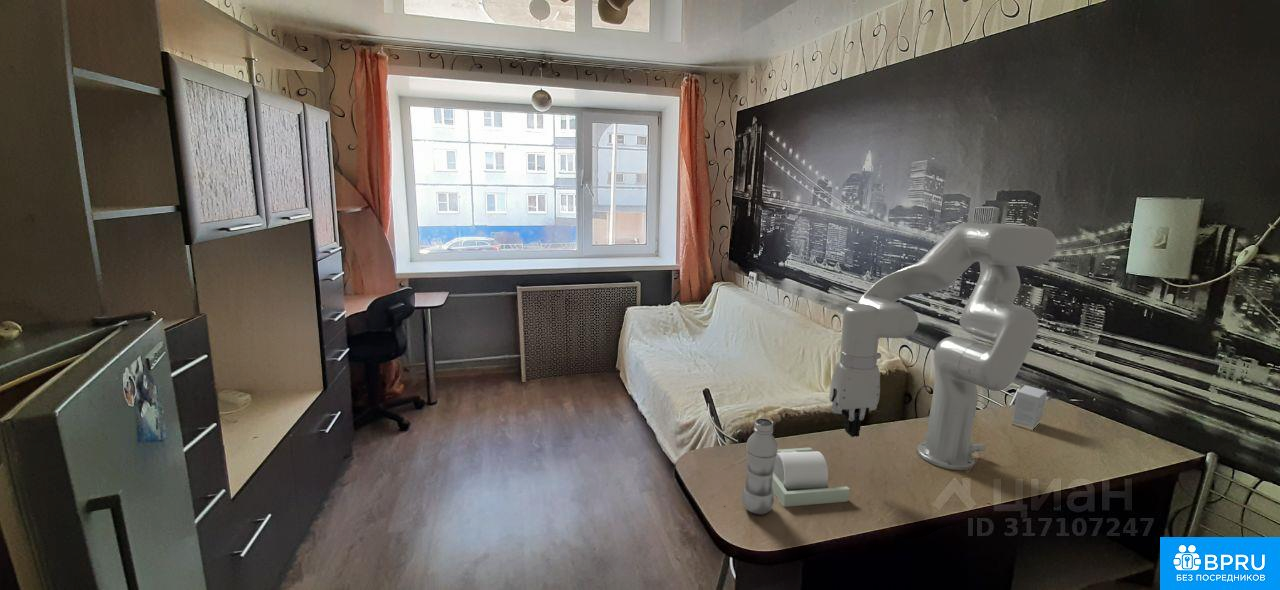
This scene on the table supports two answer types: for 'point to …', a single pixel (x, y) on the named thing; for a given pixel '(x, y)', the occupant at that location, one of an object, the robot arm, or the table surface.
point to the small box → (1029, 406)
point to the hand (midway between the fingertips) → (851, 433)
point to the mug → (801, 469)
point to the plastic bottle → (760, 468)
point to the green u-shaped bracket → (808, 491)
